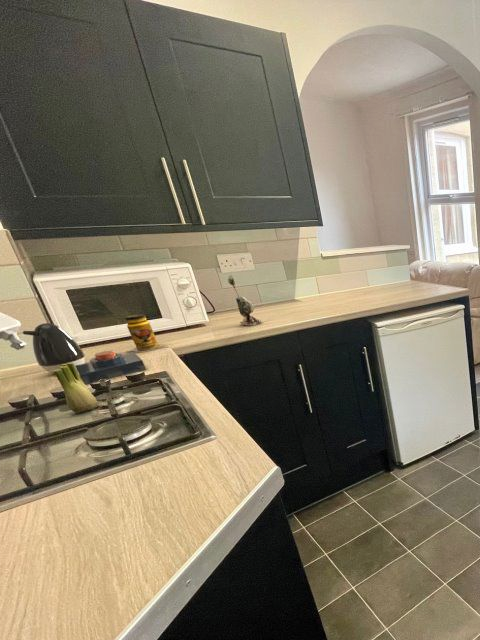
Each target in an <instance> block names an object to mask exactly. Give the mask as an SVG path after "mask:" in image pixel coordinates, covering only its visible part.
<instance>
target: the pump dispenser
mask: <svg viewBox="0 0 480 640" xmlns="http://www.w3.org/2000/svg"><path fill="white" fill-rule="evenodd" d="M22 334H23V335H25V336H32V349H33V353H34V357H35V360H36V362H37V364H38V365H39V367H41V368H42V369H43V370H44V371H46V372H48V373H50V374H54V375H55V373H54V372H53V371H54V370H58V369H60V370H61V368H60V367H61V365H62V364H67V363H74V366H76V365H81V364H85V353H84V351H83V349H82V348H81V347H80V346H79V344H78V343H77V341H75V339H74V338H73V337H72V336H70V334H69V333H68V332H67V331H65V330H64V329H63V328H62V327H60V326H58V325H56V324H54V323H49V322H47V323H45V322H44V323H39V325H36V326H35V328H34V330H23V331H22ZM75 368H76V367H75ZM76 370H77V369H76ZM61 371H62V370H61Z"/></svg>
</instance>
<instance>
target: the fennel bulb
mask: <svg viewBox="0 0 480 640" xmlns="http://www.w3.org/2000/svg"><path fill="white" fill-rule="evenodd" d="M60 368H61V370H62V371H61V370H60V369H58V370H54V371H53V372H54V373H55V374H54V373H53V374H54V375H55V377H56V378H57V380H58V382H59V384H60V386H61V388H62V390H63V393H64V396H65V401H66V405H67V407H68V408H69V410H70V411H71V412H73V413H74V414H75V413H76V414H79V413H84V412H88V411H91V410H94V409H95V408H97V407H98V405H99V401H98V400H97V399H96V397H95V395H94V394H93V393H92V392H91V391H90V389H89V388H88V386H87V385H85V384H84V383H83V381H82V379H81V377H80V375H79V373H78V371H77V370H76V368H75V366H74V363H67V364H62V365H61V367H60Z"/></svg>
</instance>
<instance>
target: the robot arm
mask: <svg viewBox="0 0 480 640" xmlns="http://www.w3.org/2000/svg"><path fill="white" fill-rule="evenodd" d="M21 326H22V325H21V322H20V320H18V319H16V318H14V317H12V316H10V315H8V314H6V313H3V312H1V311H0V340H1V339H2V340H4V341H9V342H10V347H11V348H13V349H15V350H16V351H20V350H22V349H26V347H27V342H25V341H24V340H22V339H20V338H19V336H18V334H17V333H18V332H19V330H20V328H21Z"/></svg>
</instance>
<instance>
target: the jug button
mask: <svg viewBox="0 0 480 640" xmlns="http://www.w3.org/2000/svg"><path fill="white" fill-rule="evenodd" d="M115 353H116V352H115V351H114V350H103V351H99V352H96V353H95V354H94V358H96V360H105V359H110V358H113V357H115V356H116V355H115Z"/></svg>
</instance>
